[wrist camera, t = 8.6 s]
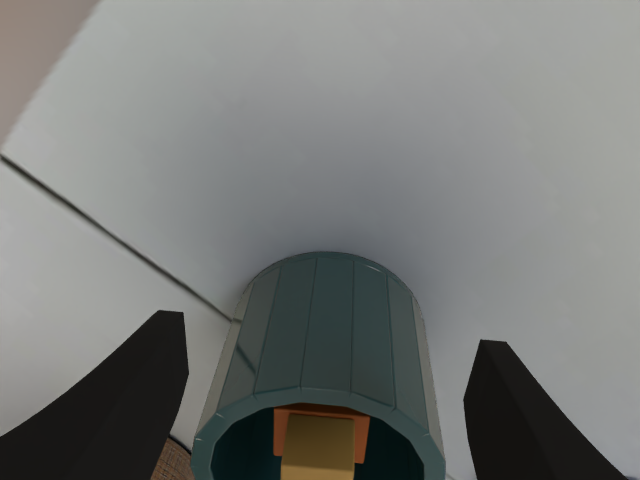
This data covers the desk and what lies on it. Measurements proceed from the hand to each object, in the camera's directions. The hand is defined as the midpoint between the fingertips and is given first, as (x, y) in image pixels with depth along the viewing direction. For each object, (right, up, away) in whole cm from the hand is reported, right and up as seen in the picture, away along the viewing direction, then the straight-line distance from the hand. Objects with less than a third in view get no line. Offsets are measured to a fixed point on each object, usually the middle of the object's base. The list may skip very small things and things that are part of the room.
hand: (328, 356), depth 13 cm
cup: (0, -1, +11) cm, 11 cm away
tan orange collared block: (0, -2, +6) cm, 6 cm away
